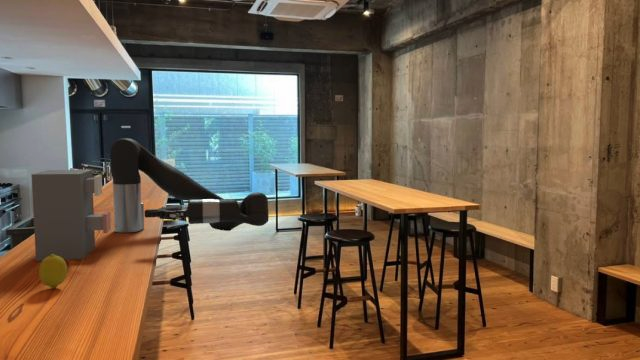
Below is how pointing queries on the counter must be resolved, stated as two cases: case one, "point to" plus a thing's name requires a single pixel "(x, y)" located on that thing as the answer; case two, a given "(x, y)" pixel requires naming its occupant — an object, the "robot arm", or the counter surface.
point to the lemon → (53, 271)
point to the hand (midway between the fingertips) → (144, 213)
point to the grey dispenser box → (62, 214)
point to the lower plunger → (99, 222)
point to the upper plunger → (94, 185)
